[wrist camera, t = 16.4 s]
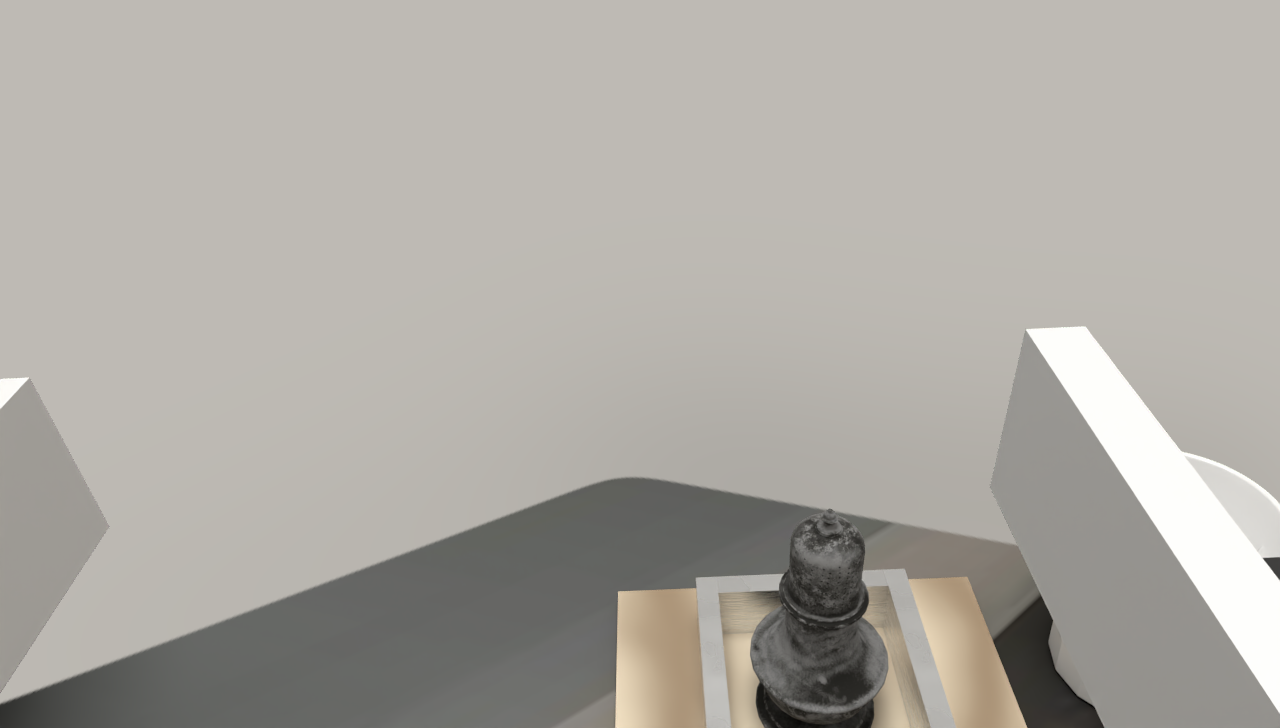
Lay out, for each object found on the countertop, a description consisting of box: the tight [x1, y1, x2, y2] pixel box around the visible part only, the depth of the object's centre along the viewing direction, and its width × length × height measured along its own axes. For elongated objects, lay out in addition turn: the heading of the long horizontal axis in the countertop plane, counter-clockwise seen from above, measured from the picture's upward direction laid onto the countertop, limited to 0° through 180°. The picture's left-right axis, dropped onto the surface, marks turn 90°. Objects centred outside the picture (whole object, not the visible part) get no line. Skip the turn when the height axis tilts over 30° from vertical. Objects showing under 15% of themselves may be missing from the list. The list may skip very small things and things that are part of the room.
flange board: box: [615, 577, 1027, 728], centre depth 42 cm, size 18×14×1 cm
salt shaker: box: [750, 509, 889, 728], centre depth 38 cm, size 6×6×12 cm
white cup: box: [1048, 452, 1280, 706], centre depth 40 cm, size 8×8×10 cm
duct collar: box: [696, 569, 956, 728], centre depth 40 cm, size 10×10×3 cm
